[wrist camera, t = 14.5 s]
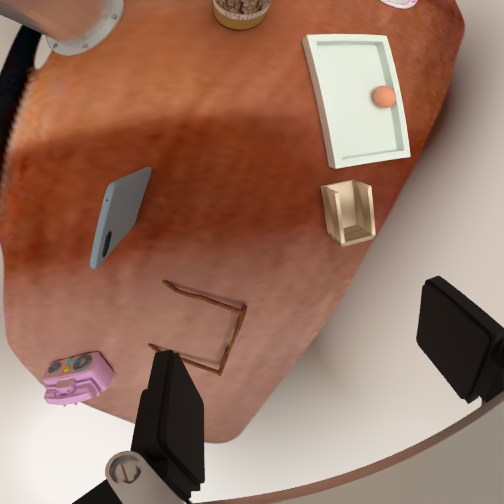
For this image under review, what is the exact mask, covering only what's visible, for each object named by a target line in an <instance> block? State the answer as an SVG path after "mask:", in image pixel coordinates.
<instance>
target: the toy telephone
mask: <svg viewBox="0 0 504 504" xmlns="http://www.w3.org/2000/svg"><path fill="white" fill-rule="evenodd" d="M112 376H113V371H112V369H111V368H110V367H109V365H108V364H107V363H106V361H105V360H104V359H103V357H102V356H101V355H100V353H99V352H93V353H89V354H84V355H80V356H76V357H72V358H68V359H64V360H60V361H56V362H53V363H51V364H50V366H49V367H48V368H47V370H46V372H45V374H44V376H43V378H42V380H43V381H44V382H45V384H46V385H47V387H46V393H45V396H44V399H45V400H46V402H47V403H49V404H57V405H59V404H60V405H64V406H65V405H66V404H70V403H74V404H75V405H77V403H78V402H80V401H84V400H88V399H91V398H93V397H95V396H97V395H100V394H101V391H104V390H106V389H107V388H108V386H109V384H110V382H111V380H112Z"/></svg>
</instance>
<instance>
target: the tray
mask: <svg viewBox="0 0 504 504" xmlns="http://www.w3.org/2000/svg"><path fill="white" fill-rule="evenodd" d="M302 45H303V48H304V52H305V56H306V60H307V63H308V67H309V71H310V76H311V80H312V84H313V88H314V93H315V97H316V102H317V106H318V111H319V116H320V121H321V126H322V131H323V136H324V141H325V147H326V152H327V158H328V164H329V167H332V168H335V169H337V168H343V167H348V166H354V165H360V164H366V163H372V162H378V161H385V160H391V159H398V158H405V157H410V149H409V141H408V133H407V127H406V120H405V114H404V108H403V103H402V98H401V92H400V88H399V83H398V78H397V74H396V70H395V66H394V62H393V58H392V54H391V50H390V46H389V43H388V39H387V36H381V35H361V34H323V35H306V37H305V38H304V39H303V40H302ZM383 85H384V86H388V87H390V88H391V89H392V90H393V91H394V92H395V94H396V102H395V103H394V105H393V106H391V107H389V108H383V107H381V106H379V105H378V104H377V103H376V102H375V100H374V97H373V93H374V90H375V89H376V88H377V87H379V86H383Z"/></svg>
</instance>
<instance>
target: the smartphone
mask: <svg viewBox="0 0 504 504" xmlns="http://www.w3.org/2000/svg"><path fill="white" fill-rule="evenodd" d="M151 171H152V168H151V167H146V168H143V169H141V170H138V171H136V172H134V173H131V174H129V175H127V176H125V177H122V178H120V179H118V180H116V181H113V182H111V183H110V184H109V186H108V187H107V190H106V192H105V196H104V200H103V204H102V208H101V212H100V216H99V220H98V225H97V229H96V234H95V238H94V243H93V248H92V254H91V259H90V267H91V268H93V269H97V268H98V267H99V266H100V264H101V263H102V262H103V261H104V260H105V258H106V257H107V256H108V255H109V254H110V252H111V251H112V250H113V249H114V248H115V247H116V245H117V244H118V243H119V242H120V241H121V240H122V238H123V237H124V236H125V235H126V234H127V233H128V232H129V231H130V229H131V228H132V227H133V226H134V224H135V222H136V219H137V215H138V212H139V209H140V205H141V202H142V199H143V196H144V193H145V190H146V187H147V184H148V181H149V178H150V175H151Z"/></svg>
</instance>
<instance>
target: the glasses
mask: <svg viewBox="0 0 504 504" xmlns="http://www.w3.org/2000/svg"><path fill="white" fill-rule="evenodd" d="M162 282H163V283H164V284H165V285H167V286H168V287H169V288H171V289H172V290H173V291H175V292H177V293H179V294H182V295H185V296H187V297H192V298H196V299H201V300H203V301H206V302H209V303H212V304H214V305H217V306H220V307H223V308H225V309H228V310H231V311H234V312H237V313H240V316H239V319H238V322H237V325H236V328H235V332H234V335H233V338H232V341H231V343H230V346H229V348H227V349H226V351H225V354H224V356H223V359H222V362H221V365H220V368H219V370H216V369H213V368H210V367H207V366H204V365H202V364H199V363H196V362H193V361H191V360H188V359H185V358H182V357H181V359H182V361H183V362H185V363H187V364H190V365H193V366H196V367H198V368H201V369H204V370H207V371H210V372H213V373H216V374H218V375H219V376H221V374H222V371H223V369H224V366H225V364H226V361H227V358H228V355H229V353H230V350H231V348H232V346H233V343H234V341H235V338H236V337H237V335H238V333H239V330H240V328H241V325H242V323H243V320H244V317H245V313H246V310H247V306H246V305H244V307H243V309H242V310H241V309H238V308H235V307H233V306H230V305H227V304H224V303H221V302H219V301H216V300H213V299H210V298H208V297H205V296H202V295H197V294H192V293H188V292H185V291H182V290H179V289H178V288H176V287H175V286H173V285H172V284H171V283H169V282H168V281H165V280H162ZM148 346H149V347H151V348H152V349H153V350H155V351H156V352H160V351H161V350H160V349H158V348H157V347H156V346H154V345H153V344H148Z"/></svg>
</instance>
